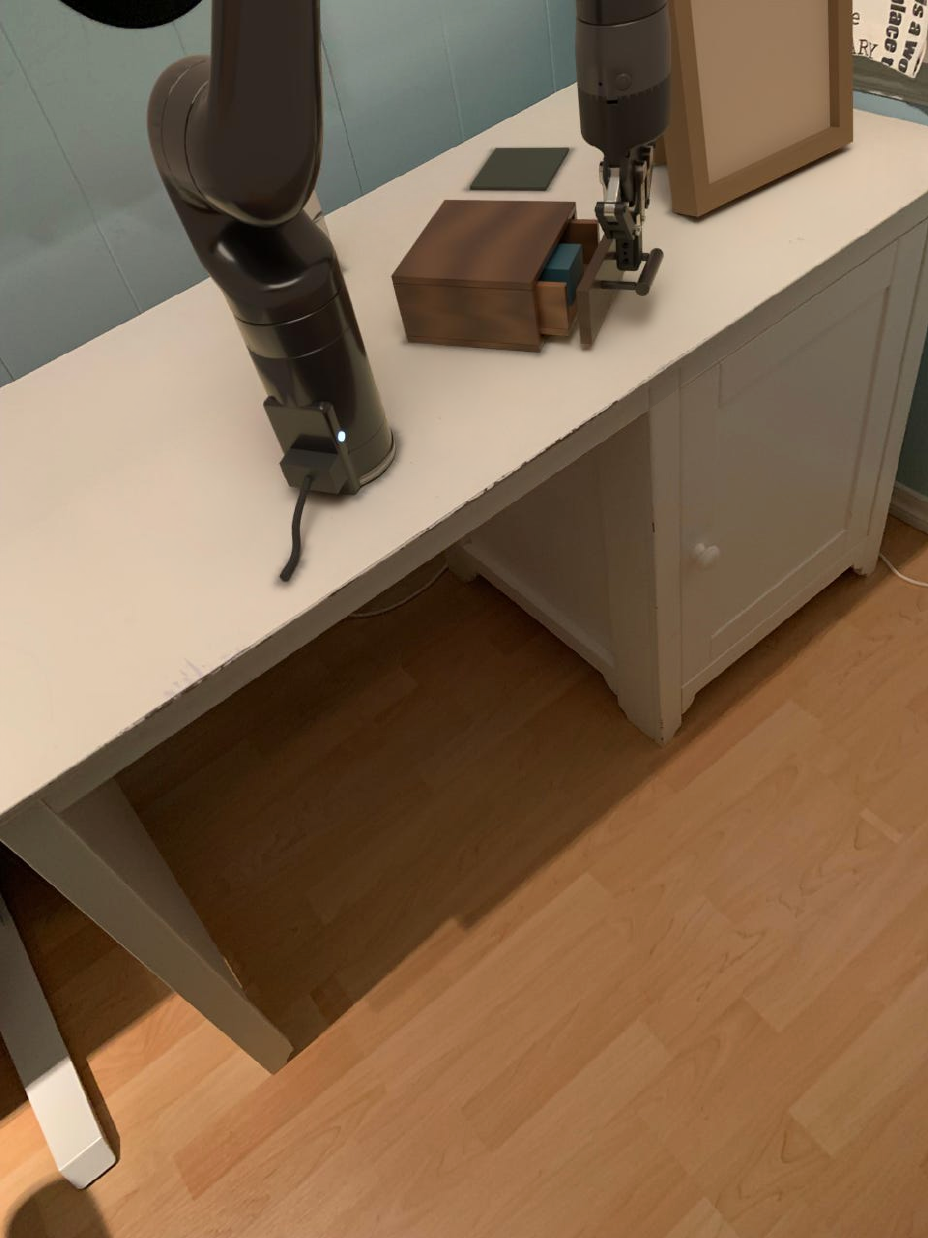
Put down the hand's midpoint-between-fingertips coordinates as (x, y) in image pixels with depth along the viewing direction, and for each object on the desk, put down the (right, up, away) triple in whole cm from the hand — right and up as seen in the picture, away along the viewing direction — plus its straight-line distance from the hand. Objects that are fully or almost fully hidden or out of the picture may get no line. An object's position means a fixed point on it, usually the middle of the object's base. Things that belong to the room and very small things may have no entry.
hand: (629, 266), depth 84 cm
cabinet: (-13, -1, +9) cm, 15 cm away
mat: (-9, +23, +26) cm, 36 cm away
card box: (-7, 0, +5) cm, 9 cm away
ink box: (-35, +8, +20) cm, 41 cm away
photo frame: (+15, +19, +18) cm, 30 cm away
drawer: (-5, -2, +5) cm, 8 cm away
